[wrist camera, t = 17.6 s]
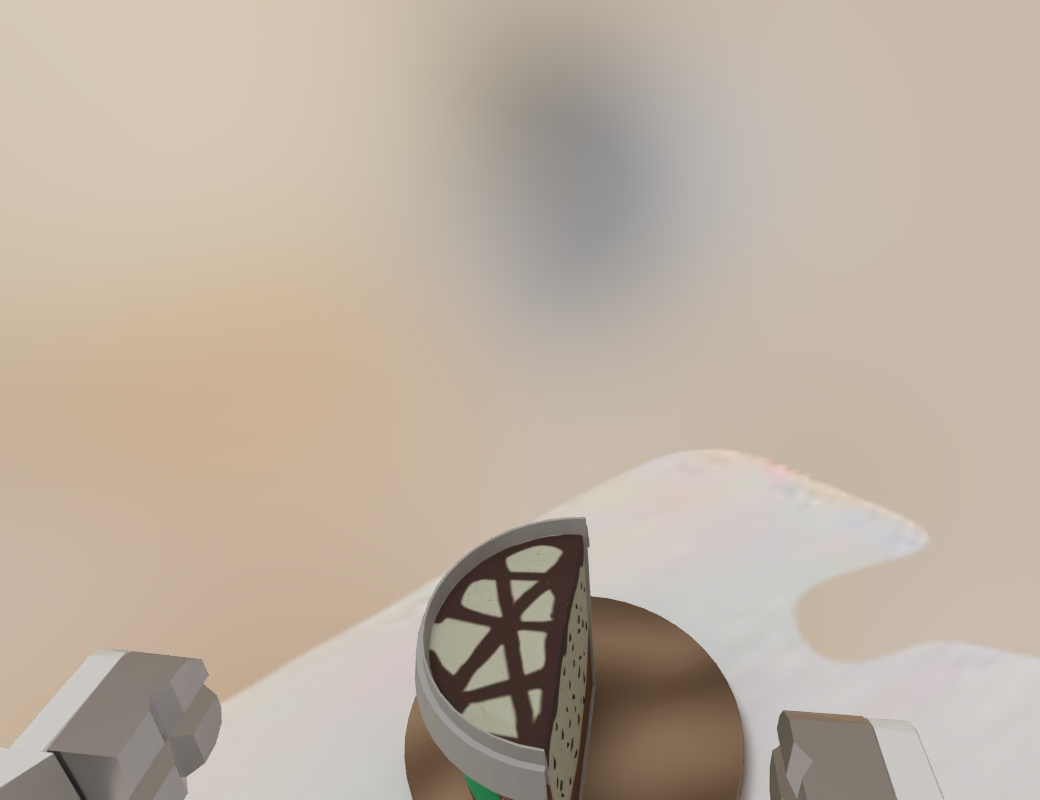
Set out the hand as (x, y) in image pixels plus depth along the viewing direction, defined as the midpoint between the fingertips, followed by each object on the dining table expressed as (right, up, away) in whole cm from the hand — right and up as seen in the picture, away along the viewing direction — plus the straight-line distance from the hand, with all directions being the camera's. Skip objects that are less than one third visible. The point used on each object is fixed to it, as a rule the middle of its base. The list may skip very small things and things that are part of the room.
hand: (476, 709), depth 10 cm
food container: (+1, -13, +22) cm, 25 cm away
